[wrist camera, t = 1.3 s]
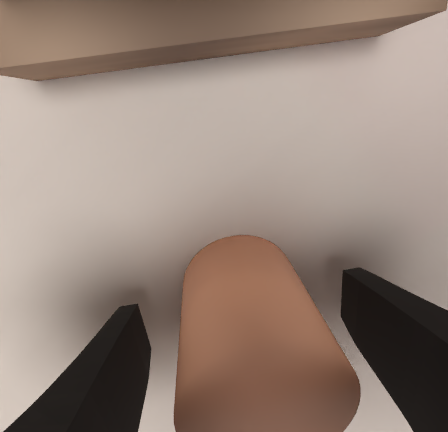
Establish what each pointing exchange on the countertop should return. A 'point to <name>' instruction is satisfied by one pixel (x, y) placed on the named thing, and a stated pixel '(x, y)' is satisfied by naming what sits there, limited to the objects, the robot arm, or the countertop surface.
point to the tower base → (180, 30)
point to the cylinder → (257, 347)
